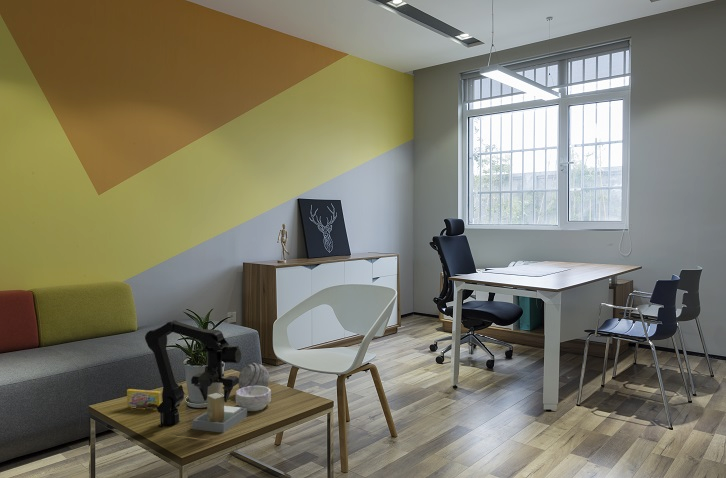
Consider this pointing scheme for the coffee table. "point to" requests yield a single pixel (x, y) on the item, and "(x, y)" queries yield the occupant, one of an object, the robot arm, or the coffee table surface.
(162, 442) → the coffee table surface
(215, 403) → the skincare box
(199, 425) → the tote
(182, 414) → the coffee table surface
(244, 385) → the decorative orb
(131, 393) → the candy box
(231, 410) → the white rectangular block
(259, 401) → the paper bowls
